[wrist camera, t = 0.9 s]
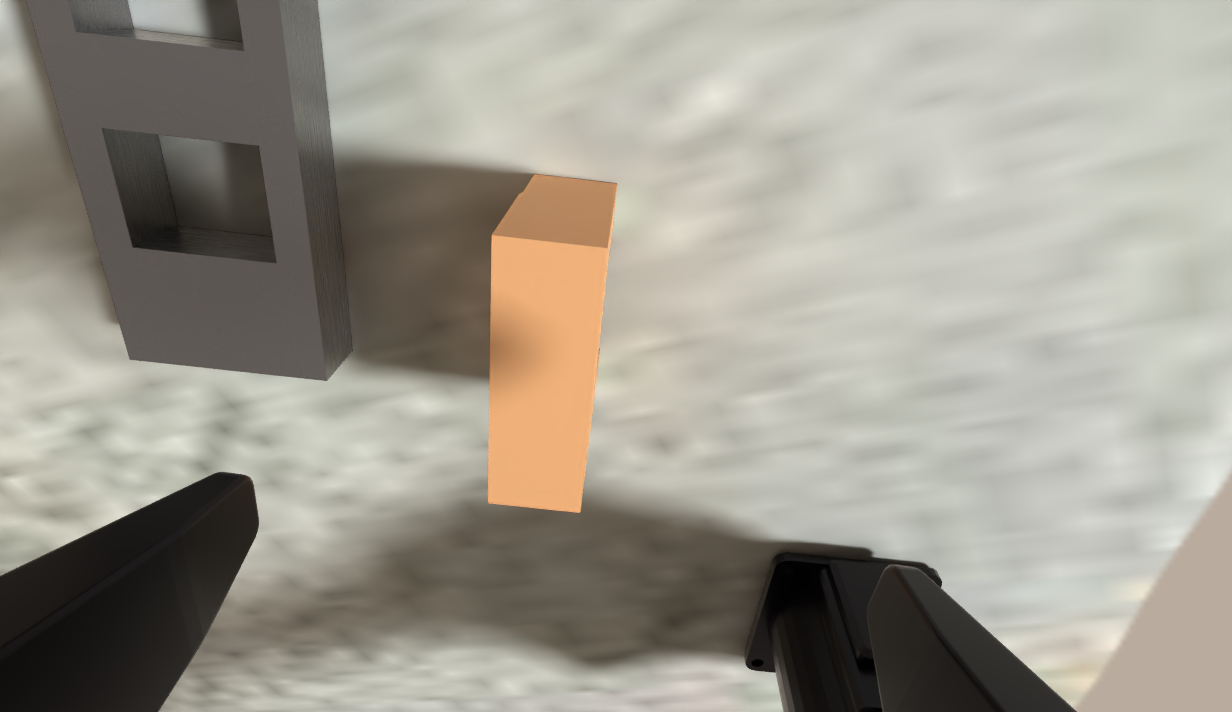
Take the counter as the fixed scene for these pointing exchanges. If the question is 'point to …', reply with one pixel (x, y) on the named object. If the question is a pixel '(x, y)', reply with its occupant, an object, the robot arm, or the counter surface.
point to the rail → (140, 195)
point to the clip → (546, 339)
